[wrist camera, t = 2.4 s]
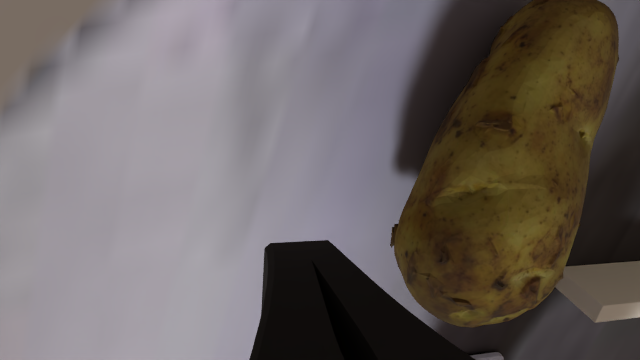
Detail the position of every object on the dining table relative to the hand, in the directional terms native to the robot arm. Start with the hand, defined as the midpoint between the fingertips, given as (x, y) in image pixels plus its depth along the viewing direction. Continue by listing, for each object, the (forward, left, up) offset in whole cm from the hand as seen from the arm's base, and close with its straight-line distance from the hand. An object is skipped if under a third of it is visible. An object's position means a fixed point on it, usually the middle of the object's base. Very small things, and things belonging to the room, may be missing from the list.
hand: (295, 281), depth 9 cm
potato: (0, -10, -10) cm, 14 cm away
